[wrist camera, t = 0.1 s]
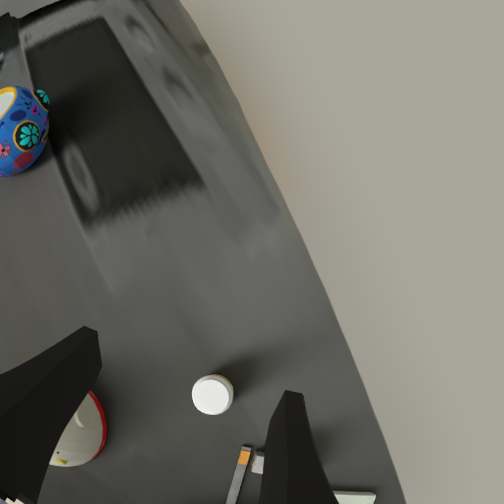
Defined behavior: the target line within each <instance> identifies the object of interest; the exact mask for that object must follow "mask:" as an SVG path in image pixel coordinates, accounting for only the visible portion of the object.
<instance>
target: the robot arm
mask: <svg viewBox="0 0 504 504" xmlns="http://www.w3.org/2000/svg"><path fill="white" fill-rule="evenodd" d="M101 367H102V361H101V355H100V348H99V341H98V334H97V331H95V330H93V329H90V328H88V327H86V326H83V327H82V328H80V329H78V330H77V331H75V332H74V333H72V334H71V335H69V336H67V337H66V338H64V339H63V340H61V341H60V342H58V343H57V344H55V345H53V346H52V347H50V348H49V349H47V350H45V351H44V352H42V353H41V354H39V355H37V356H36V357H34V358H32V359H30V360H28V361H27V362H25V363H23V364H21V365H19V366H17V367H15V368H13V369H11V370H9V371H7V372H5V373H3V374H0V504H7V503H6V502H5V500H6V498H9V499H10V500H12V501H13V502H15V500H16V499H18V500H19V501H21V502H22V503H24V504H37V501H38V497H39V493H40V490H41V486H42V483H43V480H44V477H45V474H46V471H47V468H48V465H49V463H50V460H51V458H52V455H53V453H54V451H55V448H56V446H57V444H58V442H59V440H60V437H61V435H62V433H63V432H64V430H65V428H66V426H67V425H68V423H69V422H70V420H71V418H72V417H73V415H74V414H75V412H76V411H77V409H78V408H79V406H80V405H81V403H82V402H83V400H84V399H85V397H86V395H87V394H88V392H89V391H90V389H91V388H92V386H93V384H94V382H95V380H96V378H97V376H98V374H99V372H100V370H101ZM259 504H339V502H338V500H337V499H336V497H335V495H334V493H333V490H332V488H331V486H330V484H329V482H328V479H327V477H326V475H325V472H324V469H323V467H322V464H321V461H320V459H319V456H318V453H317V450H316V446H315V443H314V440H313V436H312V433H311V429H310V425H309V421H308V417H307V412H306V407H305V402H304V396H303V395H302V393H297V392H292V391H288V390H285V392H284V394H283V396H282V398H281V400H280V402H279V404H278V406H277V408H276V410H275V412H274V414H273V415H272V417H271V419H270V424H269V429H268V433H267V438H266V443H265V453H264V463H263V473H262V483H261V493H260V499H259Z"/></svg>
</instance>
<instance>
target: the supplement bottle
mask: <svg viewBox="0 0 504 504" xmlns="http://www.w3.org/2000/svg"><path fill="white" fill-rule="evenodd" d="M233 394H234V391H233V386H232V384H231V383H230V381H229V380H228V379H227V378H225V377H224V376H222V375H218V374H212V375H208V376H204V377H202V378H201V379H199V380H198V381H197V382H196V383H195V385H194V387H193V390H192V398H193V402H194V404H195V406H196V407H197V408H198V409H199V410H200V411H201V412H203V413H206V414H210V415H217V414H220V413H223V412H224V411H226V410H227V409H228V408H229V407H230V405H231V403H232V401H233Z"/></svg>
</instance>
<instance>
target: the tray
mask: <svg viewBox="0 0 504 504" xmlns="http://www.w3.org/2000/svg"><path fill="white" fill-rule="evenodd" d="M333 493H334V495H335V497H336V499H337V500H338V502H339V504H373V503H374V500H375V498H376V495H375V494H373V493H372V492H350V491H333Z"/></svg>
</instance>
